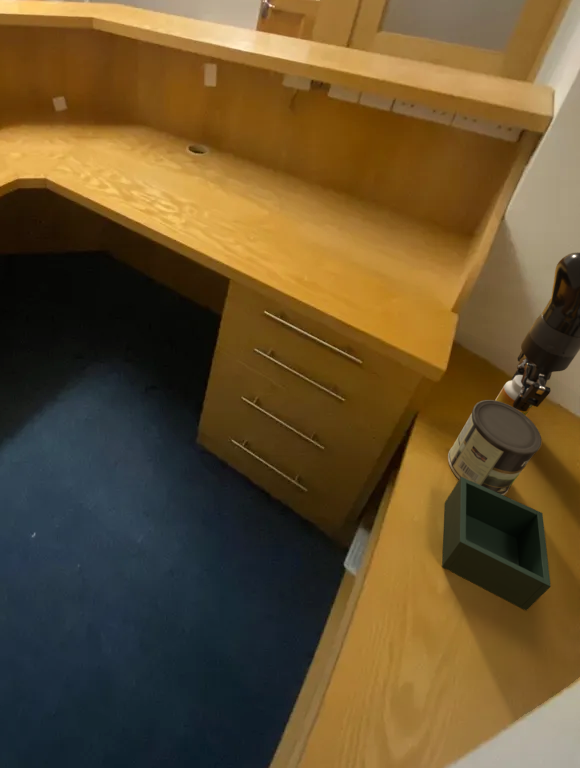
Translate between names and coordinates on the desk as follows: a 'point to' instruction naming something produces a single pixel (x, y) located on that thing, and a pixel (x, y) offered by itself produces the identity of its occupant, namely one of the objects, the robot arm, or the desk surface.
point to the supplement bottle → (512, 392)
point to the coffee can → (494, 446)
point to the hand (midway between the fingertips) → (517, 395)
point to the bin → (495, 543)
